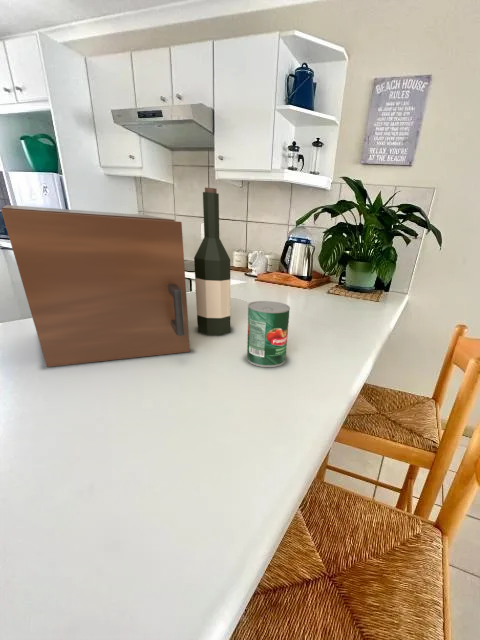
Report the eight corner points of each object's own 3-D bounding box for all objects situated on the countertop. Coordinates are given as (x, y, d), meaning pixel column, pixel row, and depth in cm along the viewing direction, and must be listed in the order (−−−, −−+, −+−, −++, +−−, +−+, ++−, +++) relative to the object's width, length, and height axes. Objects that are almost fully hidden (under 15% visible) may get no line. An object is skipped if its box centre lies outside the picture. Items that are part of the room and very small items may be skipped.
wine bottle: (237, 333, 78) (238, 190, 65) (204, 337, 74) (198, 185, 60) (223, 323, 84) (221, 190, 71) (191, 326, 80) (183, 186, 66)
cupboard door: (196, 362, 61) (189, 223, 50) (43, 381, 50) (-9, 210, 40) (188, 349, 66) (180, 221, 55) (47, 364, 55) (2, 209, 45)
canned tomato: (251, 350, 69) (252, 298, 64) (287, 354, 69) (291, 303, 64) (242, 365, 62) (243, 308, 57) (283, 369, 62) (287, 313, 57)
